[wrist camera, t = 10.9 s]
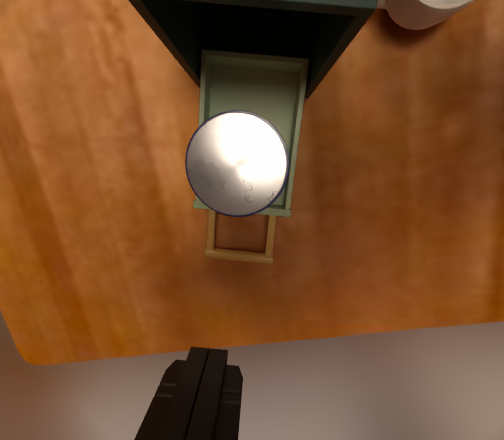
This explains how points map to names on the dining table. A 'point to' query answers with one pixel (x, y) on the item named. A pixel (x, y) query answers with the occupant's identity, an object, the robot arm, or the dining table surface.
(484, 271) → the dining table surface
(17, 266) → the dining table surface
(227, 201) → the navy can
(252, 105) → the drawer
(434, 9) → the teacup
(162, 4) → the cubby
